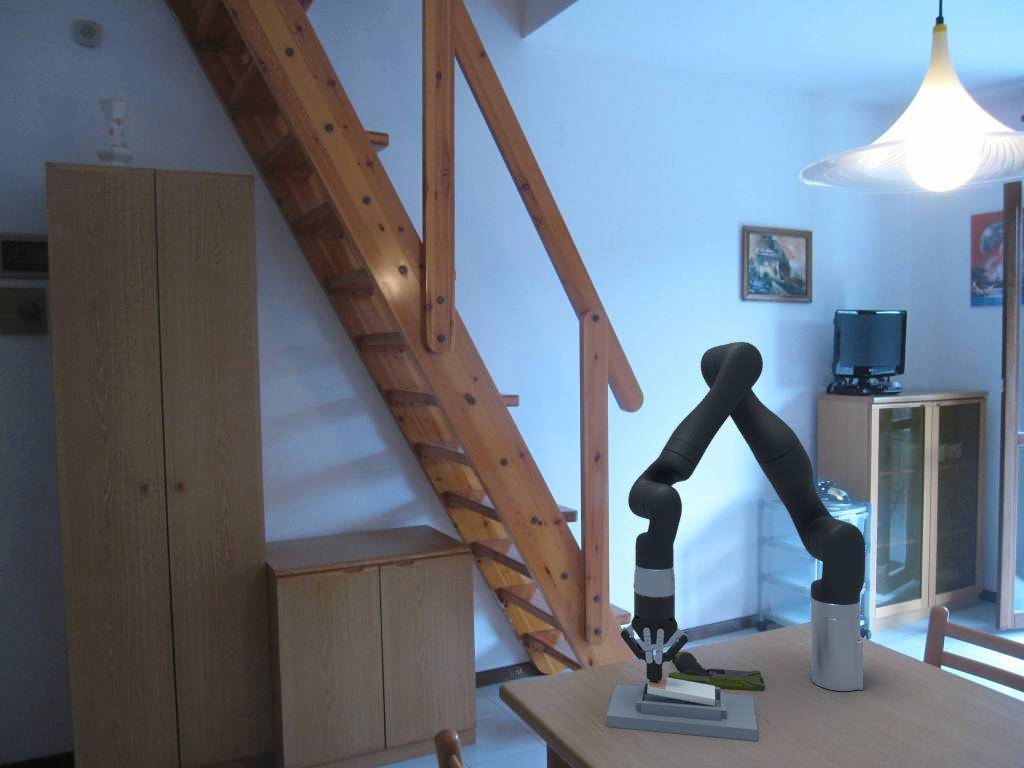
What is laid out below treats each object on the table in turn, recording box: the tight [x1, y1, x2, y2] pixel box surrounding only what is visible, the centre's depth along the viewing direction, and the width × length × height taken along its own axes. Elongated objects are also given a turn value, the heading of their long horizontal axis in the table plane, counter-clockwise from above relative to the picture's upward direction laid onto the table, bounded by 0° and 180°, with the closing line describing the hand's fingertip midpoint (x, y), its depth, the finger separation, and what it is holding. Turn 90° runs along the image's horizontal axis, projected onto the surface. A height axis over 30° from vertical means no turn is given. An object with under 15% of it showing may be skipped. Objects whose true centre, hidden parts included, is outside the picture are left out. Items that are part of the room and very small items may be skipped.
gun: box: [668, 650, 766, 692], centre depth 163 cm, size 2×19×15 cm
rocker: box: [647, 675, 715, 706], centre depth 143 cm, size 12×6×1 cm, turn 76°
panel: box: [606, 680, 758, 742], centre depth 144 cm, size 26×14×4 cm, turn 76°
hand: (654, 681), depth 145 cm, fingers closed
